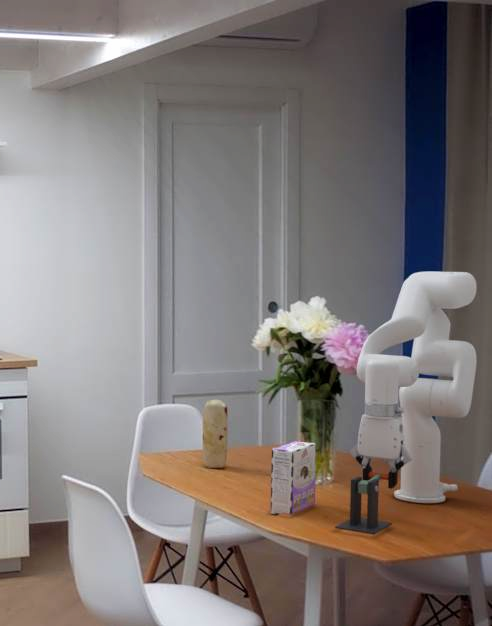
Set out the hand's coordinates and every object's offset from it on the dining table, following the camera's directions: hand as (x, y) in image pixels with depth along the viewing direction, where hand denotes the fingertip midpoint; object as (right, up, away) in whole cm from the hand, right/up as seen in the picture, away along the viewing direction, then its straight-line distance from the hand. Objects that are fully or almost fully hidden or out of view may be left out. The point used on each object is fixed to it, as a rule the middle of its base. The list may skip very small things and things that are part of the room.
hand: (379, 485), depth 254 cm
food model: (-28, -5, +65) cm, 71 cm away
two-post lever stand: (-6, -9, -7) cm, 13 cm away
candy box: (-18, -8, +10) cm, 23 cm away
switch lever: (-3, 0, -4) cm, 5 cm away
